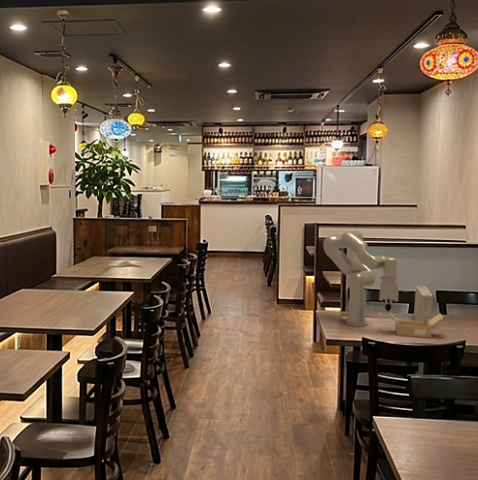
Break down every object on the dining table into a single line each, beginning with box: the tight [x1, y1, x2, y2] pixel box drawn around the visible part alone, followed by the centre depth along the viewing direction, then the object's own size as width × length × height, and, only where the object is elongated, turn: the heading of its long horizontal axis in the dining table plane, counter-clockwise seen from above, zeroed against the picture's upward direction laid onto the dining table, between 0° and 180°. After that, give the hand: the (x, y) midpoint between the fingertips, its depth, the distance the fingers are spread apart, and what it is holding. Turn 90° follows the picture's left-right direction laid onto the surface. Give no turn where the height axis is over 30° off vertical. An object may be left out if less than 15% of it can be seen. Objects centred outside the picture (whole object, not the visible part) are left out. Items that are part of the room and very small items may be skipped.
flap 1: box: [386, 311, 398, 324], centre depth 304 cm, size 1×11×8 cm
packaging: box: [413, 285, 434, 327], centre depth 329 cm, size 30×6×20 cm, turn 168°
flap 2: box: [429, 313, 444, 327], centre depth 299 cm, size 1×11×8 cm
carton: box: [394, 319, 433, 339], centre depth 302 cm, size 18×12×6 cm
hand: (388, 310), depth 304 cm, fingers closed
